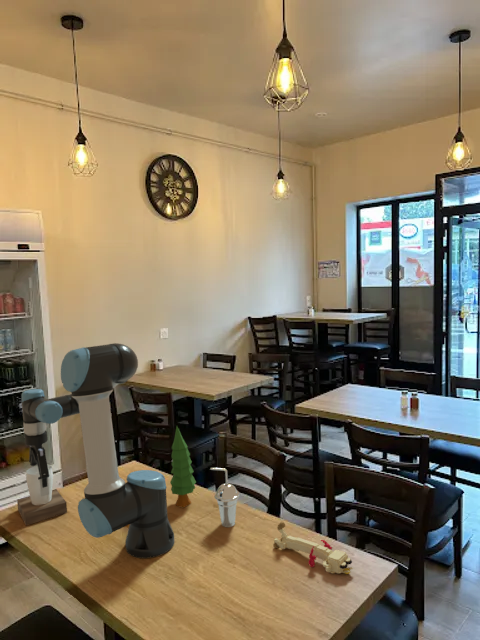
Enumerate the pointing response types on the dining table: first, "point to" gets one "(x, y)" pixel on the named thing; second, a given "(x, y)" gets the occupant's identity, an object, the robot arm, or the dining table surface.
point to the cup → (38, 486)
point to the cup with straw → (226, 501)
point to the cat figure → (315, 552)
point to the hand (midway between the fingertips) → (40, 488)
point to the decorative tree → (181, 471)
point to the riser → (41, 508)
